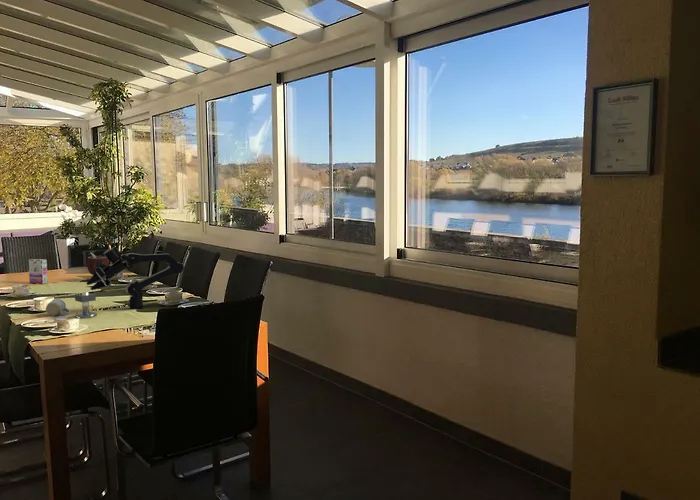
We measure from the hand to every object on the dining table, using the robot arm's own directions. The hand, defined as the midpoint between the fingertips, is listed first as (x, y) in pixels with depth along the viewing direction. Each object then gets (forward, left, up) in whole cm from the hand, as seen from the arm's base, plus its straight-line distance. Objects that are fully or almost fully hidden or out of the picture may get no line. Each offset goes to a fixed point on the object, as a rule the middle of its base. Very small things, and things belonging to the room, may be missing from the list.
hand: (88, 286), depth 310 cm
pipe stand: (+2, +11, -13) cm, 17 cm away
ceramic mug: (+15, +1, -14) cm, 20 cm away
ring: (+2, +11, -5) cm, 12 cm away
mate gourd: (-6, -112, -13) cm, 113 cm away
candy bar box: (+31, -117, -13) cm, 122 cm away
